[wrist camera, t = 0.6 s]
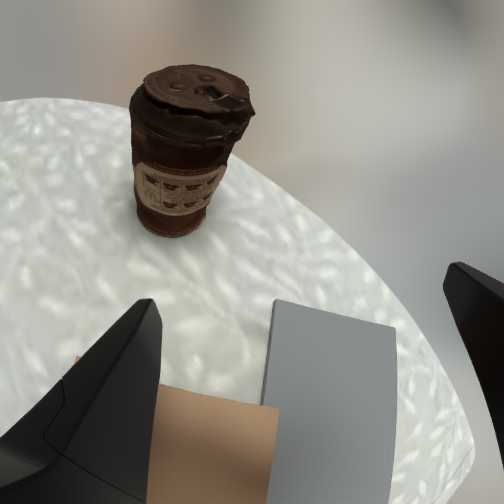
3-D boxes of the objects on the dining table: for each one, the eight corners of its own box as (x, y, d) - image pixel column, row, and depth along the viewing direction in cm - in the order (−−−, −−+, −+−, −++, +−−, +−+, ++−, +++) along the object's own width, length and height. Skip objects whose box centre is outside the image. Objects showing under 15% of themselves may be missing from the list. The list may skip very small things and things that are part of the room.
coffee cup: (224, 249, 26) (280, 128, 16) (127, 255, 23) (126, 118, 13) (207, 177, 30) (245, 64, 20) (127, 178, 27) (136, 54, 17)
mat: (383, 505, 17) (387, 505, 16) (242, 517, 15) (245, 519, 14) (391, 329, 27) (395, 327, 27) (273, 301, 25) (276, 298, 24)
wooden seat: (225, 497, 15) (261, 529, 9) (82, 464, 13) (49, 483, 8) (239, 413, 19) (279, 407, 13) (101, 377, 17) (76, 355, 11)
